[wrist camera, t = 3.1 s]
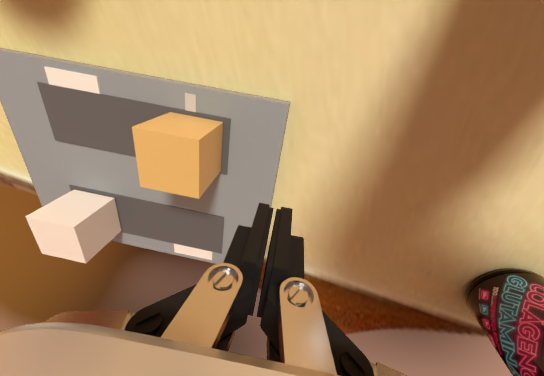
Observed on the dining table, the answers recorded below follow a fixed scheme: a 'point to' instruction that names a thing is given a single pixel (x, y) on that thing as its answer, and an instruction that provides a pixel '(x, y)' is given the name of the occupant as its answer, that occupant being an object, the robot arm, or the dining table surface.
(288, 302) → the robot arm
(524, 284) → the supplement container
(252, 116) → the switch board
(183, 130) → the orange cube
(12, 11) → the dining table surface
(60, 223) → the pale pink cube
